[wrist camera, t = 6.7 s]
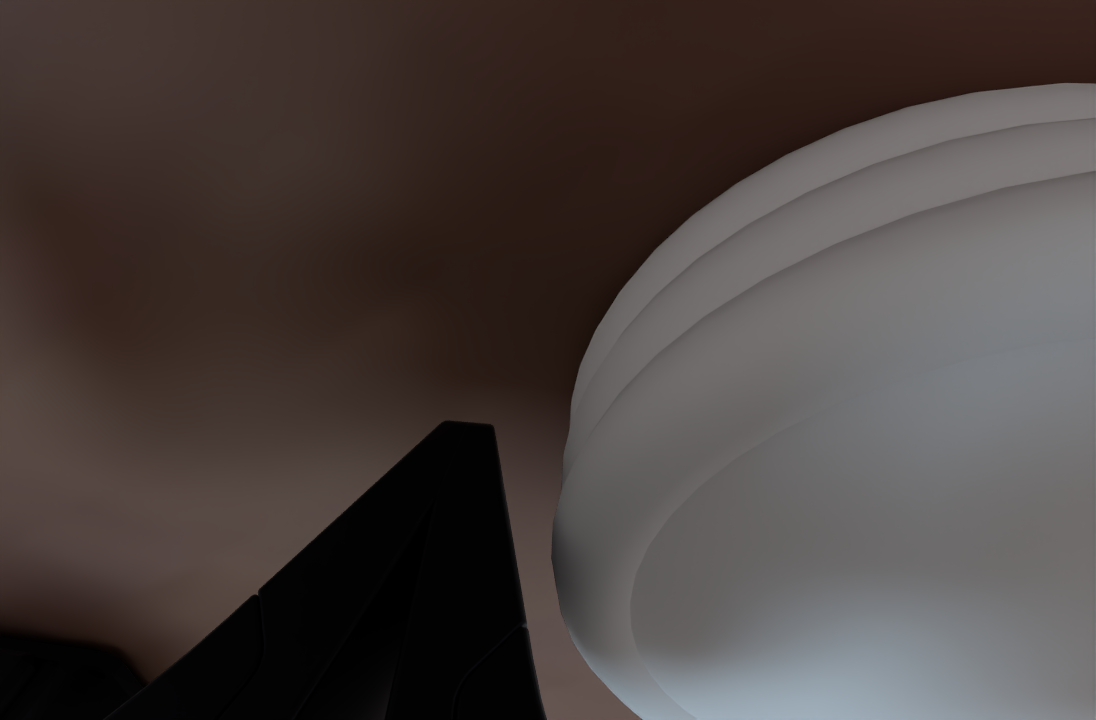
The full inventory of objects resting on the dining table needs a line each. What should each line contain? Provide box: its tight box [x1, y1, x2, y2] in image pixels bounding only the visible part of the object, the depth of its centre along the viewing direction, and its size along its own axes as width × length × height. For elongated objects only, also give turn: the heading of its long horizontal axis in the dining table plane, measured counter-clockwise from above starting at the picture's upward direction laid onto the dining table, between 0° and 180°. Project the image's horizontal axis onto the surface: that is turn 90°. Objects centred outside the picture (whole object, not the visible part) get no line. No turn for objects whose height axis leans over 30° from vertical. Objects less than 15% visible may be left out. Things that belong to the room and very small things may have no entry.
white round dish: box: [551, 83, 1096, 720], centre depth 8 cm, size 10×10×4 cm
